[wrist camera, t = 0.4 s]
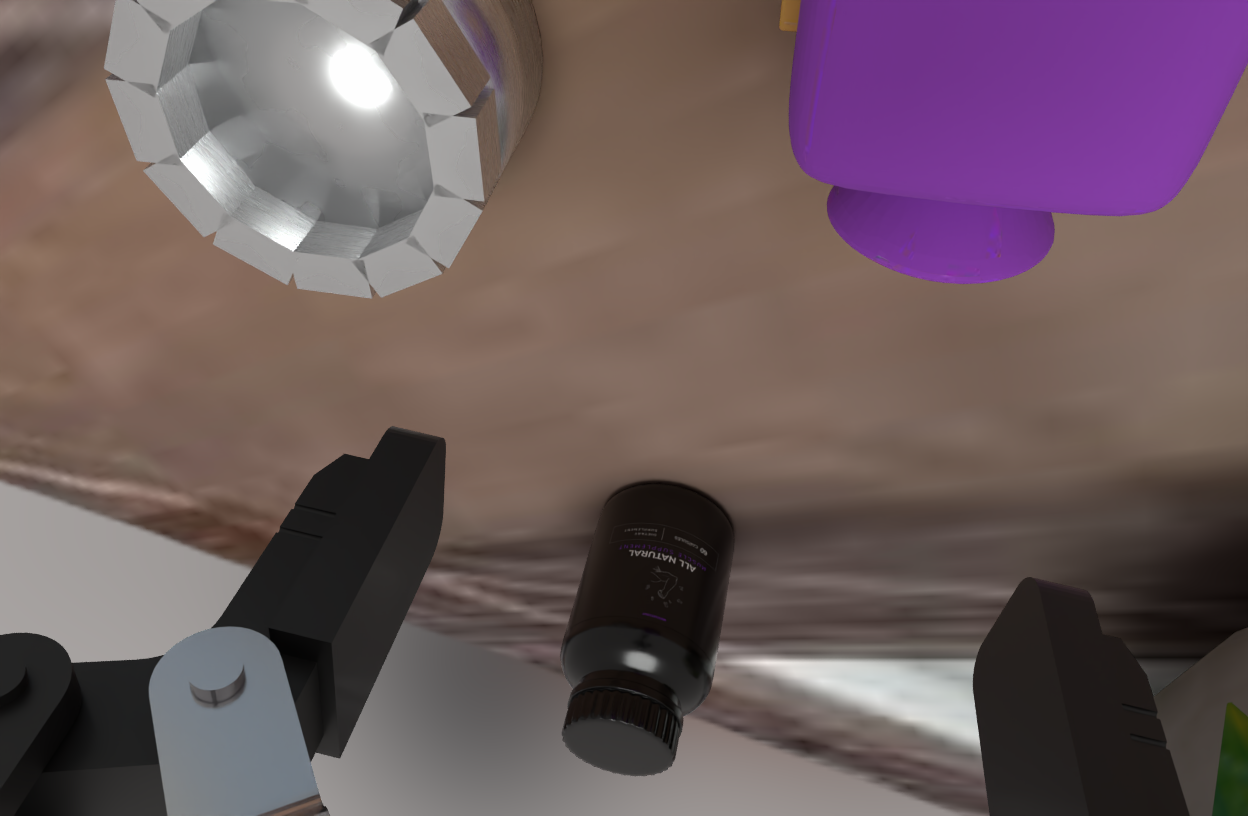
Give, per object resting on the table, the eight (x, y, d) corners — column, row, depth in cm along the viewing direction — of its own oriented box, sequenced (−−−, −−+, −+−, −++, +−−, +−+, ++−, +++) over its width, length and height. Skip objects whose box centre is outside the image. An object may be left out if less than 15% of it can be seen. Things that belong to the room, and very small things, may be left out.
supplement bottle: (701, 466, 44) (659, 700, 36) (756, 556, 48) (729, 787, 39) (575, 491, 47) (508, 712, 39) (635, 574, 51) (587, 792, 42)
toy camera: (805, 177, 33) (784, 366, 26) (775, -306, 24) (730, -216, 17) (1151, 155, 30) (1233, 360, 23) (1265, -402, 21) (1456, -343, 14)
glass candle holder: (276, -224, 27) (143, -159, 22) (601, -1, 30) (546, 100, 25) (198, 75, 35) (85, 174, 30) (465, 233, 37) (402, 348, 32)
